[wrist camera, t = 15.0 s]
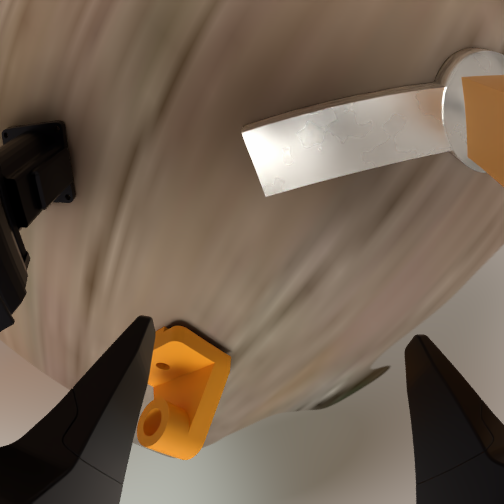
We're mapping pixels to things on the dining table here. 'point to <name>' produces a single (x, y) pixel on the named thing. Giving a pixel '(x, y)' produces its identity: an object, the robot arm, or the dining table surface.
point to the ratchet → (368, 128)
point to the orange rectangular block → (485, 122)
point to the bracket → (182, 392)
